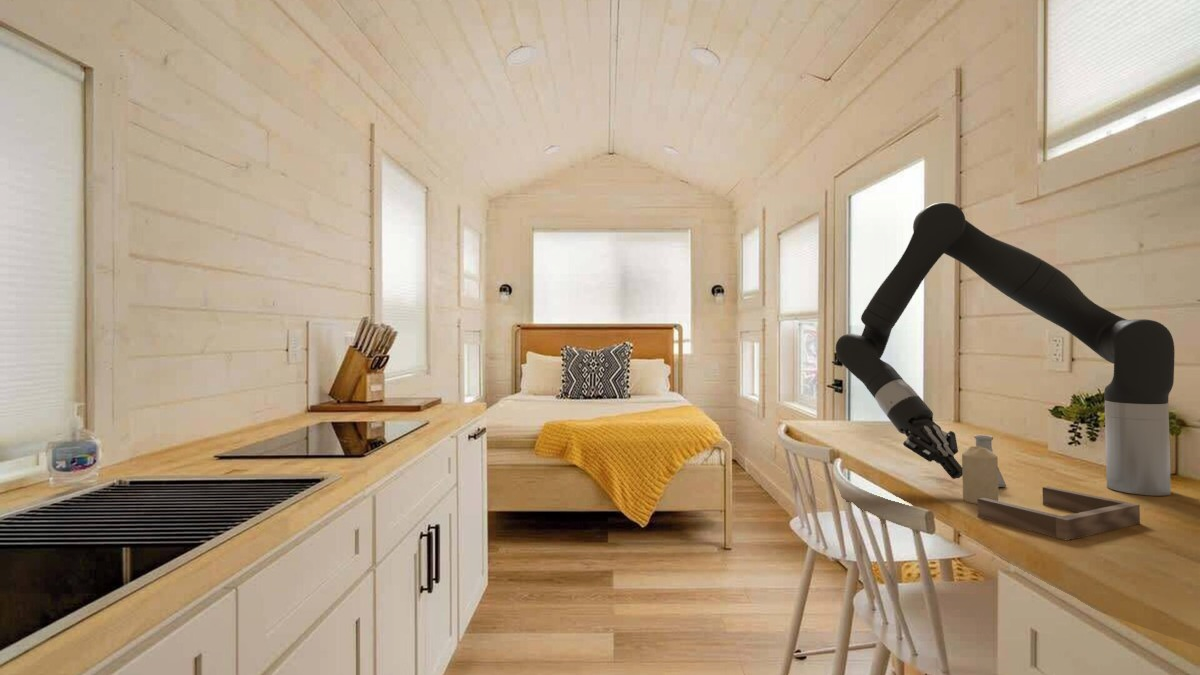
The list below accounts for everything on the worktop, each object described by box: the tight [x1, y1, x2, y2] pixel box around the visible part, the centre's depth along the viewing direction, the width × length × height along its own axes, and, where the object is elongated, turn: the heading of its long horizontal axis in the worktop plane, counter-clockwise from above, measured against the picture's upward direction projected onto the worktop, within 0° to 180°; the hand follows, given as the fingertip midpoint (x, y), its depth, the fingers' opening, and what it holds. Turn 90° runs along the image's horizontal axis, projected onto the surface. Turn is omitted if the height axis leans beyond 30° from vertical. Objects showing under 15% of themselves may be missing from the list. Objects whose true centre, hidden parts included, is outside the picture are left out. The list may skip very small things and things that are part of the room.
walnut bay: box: [977, 486, 1141, 541], centre depth 97 cm, size 19×14×3 cm
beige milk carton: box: [961, 445, 999, 505], centre depth 108 cm, size 6×6×10 cm
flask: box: [973, 434, 1007, 488], centre depth 121 cm, size 7×7×10 cm
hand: (959, 476), depth 112 cm, fingers closed
